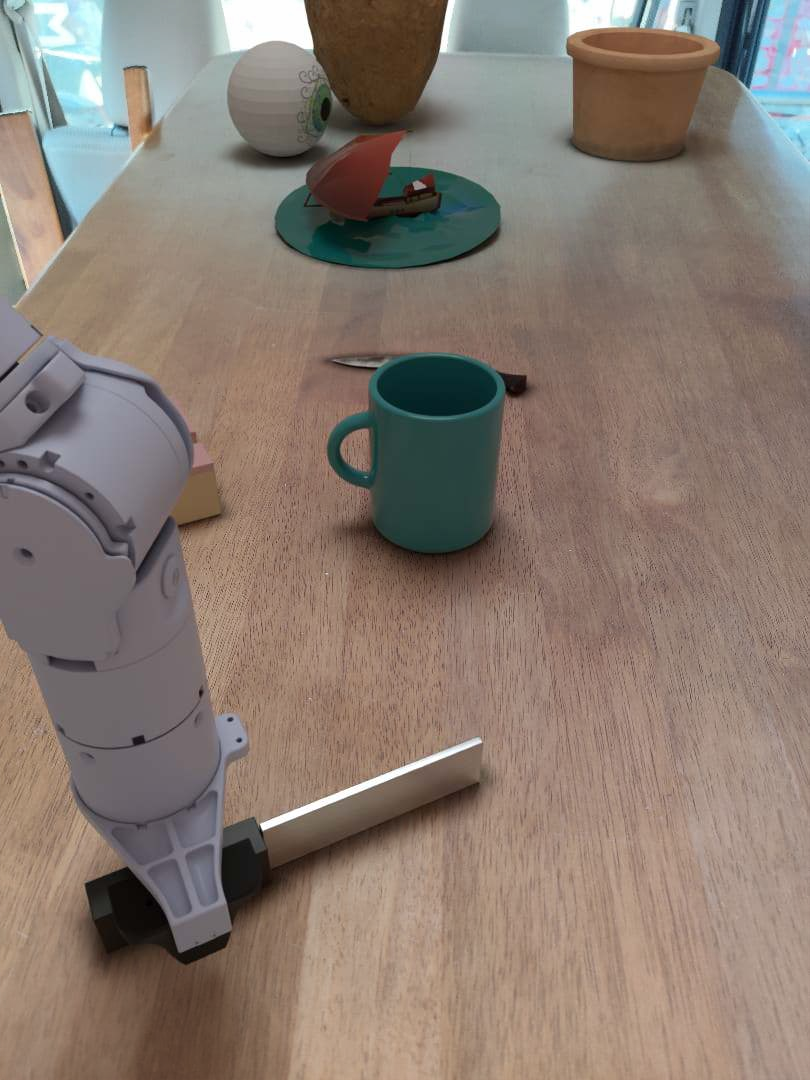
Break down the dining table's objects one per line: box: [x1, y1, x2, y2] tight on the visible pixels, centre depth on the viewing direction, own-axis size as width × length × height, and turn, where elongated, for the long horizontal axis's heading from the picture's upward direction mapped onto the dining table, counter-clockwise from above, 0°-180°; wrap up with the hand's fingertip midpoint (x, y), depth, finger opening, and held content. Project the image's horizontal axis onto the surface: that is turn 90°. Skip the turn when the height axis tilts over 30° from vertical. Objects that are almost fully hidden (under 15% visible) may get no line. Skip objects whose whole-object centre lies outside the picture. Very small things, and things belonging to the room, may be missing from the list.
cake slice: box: [169, 441, 222, 526], centre depth 64 cm, size 9×3×5 cm, turn 116°
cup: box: [326, 351, 507, 554], centre depth 63 cm, size 9×12×11 cm
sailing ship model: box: [274, 129, 502, 269], centre depth 109 cm, size 28×28×11 cm
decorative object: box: [226, 40, 333, 158], centre depth 129 cm, size 15×15×15 cm
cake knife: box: [84, 735, 484, 955], centre depth 44 cm, size 20×2×3 cm, turn 116°
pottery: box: [565, 26, 721, 162], centre depth 135 cm, size 22×22×14 cm
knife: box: [331, 355, 528, 394], centre depth 83 cm, size 18×1×5 cm
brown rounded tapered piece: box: [303, 0, 449, 126], centre depth 139 cm, size 22×22×25 cm
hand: (182, 882), depth 42 cm, fingers open, 6 cm apart
